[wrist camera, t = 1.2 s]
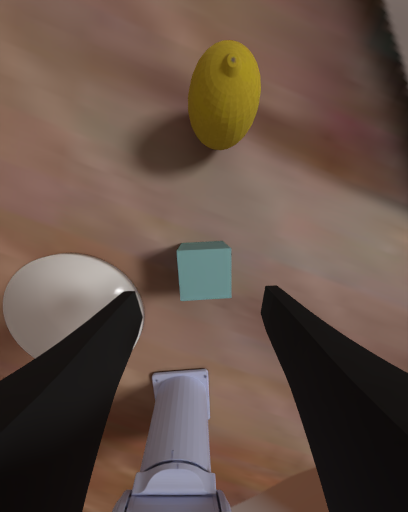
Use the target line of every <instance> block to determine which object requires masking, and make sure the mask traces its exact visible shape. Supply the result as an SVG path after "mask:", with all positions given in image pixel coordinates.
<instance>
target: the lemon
mask: <svg viewBox="0 0 408 512" xmlns="http://www.w3.org/2000/svg"><path fill="white" fill-rule="evenodd" d="M260 92H261V85H260V73H259V69H258V65H257V62H256V60H255V58H254V56H253V54H252V53H251V52H250V51H249V50H248V49H247V47H245V46H244V45H242V44H241V43H239V42H236V41H233V40H224V41H221V42H218V43H215V44H214V45H213V46H211V47H210V48H209V49H207V50H206V52H205V53H204V54H203V55H202V57H201V58H200V59H199V61H198V63H197V66H196V68H195V70H194V72H193V75H192V79H191V84H190V89H189V94H188V112H189V118H190V122H191V126H192V128H193V130H194V132H195V134H196V136H197V138H198V139H199V140H200V141H201V142H202V143H203V144H204V145H205V146H207V147H209V148H211V149H214V150H224V149H228V148H230V147H232V146H234V145H236V144H237V143H238V142H239V141H240V140H241V139H242V138H243V137H244V136H245V134H246V133H247V132H248V130H249V129H250V127H251V125H252V123H253V120H254V118H255V115H256V112H257V109H258V104H259V98H260Z"/></svg>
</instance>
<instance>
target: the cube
mask: <svg viewBox="0 0 408 512" xmlns="http://www.w3.org/2000/svg"><path fill="white" fill-rule="evenodd" d="M177 262H178V274H179V286H180V299H181V301H188V300H204V299H221V298H231V248H230V247H229V246H228V245H227V244H226V243H224V242H223V241H214V242H194V243H181V245H180V246H179V248H178V249H177Z"/></svg>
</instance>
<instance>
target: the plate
mask: <svg viewBox="0 0 408 512" xmlns="http://www.w3.org/2000/svg"><path fill="white" fill-rule="evenodd" d="M124 291H135V292H136V296H137V299H138V302H139V306H140V309H141V312H142V316H143V319H142V323H141V327H140V330H139V334H138V337H137V340H136V342H135V345H136V343H137V341H138V339H139V337H140V335H141V332H142V329H143V325H144V317H145V316H144V307H143V302H142V299H141V297H140V294H139V292H138V290H137V289H136V287H135V286H134V284H133V283H132V281H131V280H130V279H129V278H128V277H127V276H126V275H125V274H124V273H123V272H122V271H121V270H119V269H118V268H117V267H115V266H114V265H112V264H110V263H108V262H106V261H105V260H102V259H100V258H97V257H95V256H91V255H87V254H80V253H61V254H55V255H51V256H47V257H43V258H39V259H37V260H34V261H32V262H30V263H28V264H27V265H25V266H23V267H22V268H21V269H20V270H19V271H17V272H16V274H15V275H14V276H13V277H12V278H11V280H10V282H9V283H8V285H7V287H6V290H5V293H4V298H3V313H4V318H5V322H6V325H7V327H8V329H9V331H10V333H11V335H12V336H13V338H14V339H15V340H16V342H17V343H18V344H19V345H20V346H21V347H22V348H23V349H24V350H25V351H26V352H27V353H28V354H30V355H31V356H32V357H34V358H37V357H38V356H40V355H41V354H43V353H44V352H46V351H47V350H49V349H50V348H51V347H53V346H54V345H56V344H57V343H59V342H60V341H61V340H63V339H64V338H65V337H67V336H68V335H69V334H71V333H72V332H73V331H75V330H76V329H77V328H78V327H80V326H81V325H82V324H84V323H85V322H86V321H88V320H89V319H90V318H91V317H93V316H94V315H95V314H96V313H98V312H99V311H100V310H101V309H102V308H104V307H105V306H106V305H107V304H109V303H110V302H111V301H112V300H113V299H115V298H116V297H117V296H118V295H120V294H121V293H122V292H124ZM135 345H134V346H135ZM133 348H134V347H133Z"/></svg>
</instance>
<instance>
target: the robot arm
mask: <svg viewBox="0 0 408 512" xmlns="http://www.w3.org/2000/svg"><path fill="white" fill-rule="evenodd" d="M261 316H262V319H263V323H264V326H265V329H266V332H267V334H268V337H269V339H270V341H271V344H272V346H273V348H274V350H275V353H276V355H277V357H278V360H279V362H280V364H281V366H282V369H283V371H284V373H285V375H286V378H287V380H288V383H289V386H290V388H291V391H292V394H293V397H294V400H295V403H296V406H297V409H298V411H299V414H300V418H301V421H302V424H303V427H304V430H305V433H306V436H307V439H308V442H309V445H310V449H311V452H312V455H313V459H314V462H315V465H316V468H317V472H318V475H319V478H320V481H321V485H322V488H323V492H324V495H325V499H326V503H327V506H328V510H329V512H408V373H406V372H405V371H403V370H401V369H399V368H398V367H396V366H394V365H392V364H390V363H389V362H387V361H385V360H383V359H382V358H380V357H378V356H377V355H375V354H373V353H372V352H370V351H368V350H367V349H365V348H364V347H362V346H360V345H359V344H357V343H356V342H354V341H352V340H351V339H349V338H348V337H346V336H345V335H343V334H342V333H340V332H339V331H337V330H336V329H334V328H333V327H331V326H330V325H328V324H327V323H326V322H324V321H323V320H321V319H320V318H319V317H317V316H316V315H314V314H313V313H312V312H310V311H309V310H308V309H306V308H305V307H304V306H303V305H301V304H300V303H299V302H297V301H296V300H295V299H294V298H292V297H291V296H290V295H288V294H287V293H286V292H285V291H283V290H282V289H281V288H279V287H278V286H265V292H264V297H263V303H262V308H261ZM142 319H143V316H142V312H141V309H140V306H139V302H138V299H137V296H136V292H135V291H124V292H122V293H121V294H120V295H118V296H117V297H116V298H115V299H113V300H112V301H111V302H110V303H109V304H107V305H106V306H105V307H104V308H102V309H101V310H100V311H99V312H98V313H96V314H95V315H94V316H93V317H91V318H90V319H89V320H88V321H86V322H85V323H84V324H82V325H81V326H80V327H78V328H77V329H76V330H75V331H73V332H72V333H71V334H69V335H68V336H67V337H65V338H64V339H63V340H61V341H60V342H59V343H57V344H56V345H54V346H53V347H51V348H50V349H49V350H47V351H46V352H44V353H43V354H41V355H40V356H38V357H37V358H35V359H34V360H32V361H31V362H29V363H28V364H26V365H25V366H23V367H22V368H20V369H18V370H17V371H15V372H14V373H12V374H10V375H9V376H7V377H6V378H4V379H2V380H1V381H0V512H82V510H83V506H84V502H85V498H86V494H87V490H88V486H89V482H90V479H91V475H92V471H93V467H94V464H95V460H96V456H97V453H98V449H99V445H100V442H101V439H102V435H103V432H104V428H105V425H106V421H107V418H108V415H109V412H110V408H111V405H112V402H113V399H114V396H115V393H116V390H117V387H118V384H119V382H120V379H121V377H122V374H123V372H124V369H125V367H126V364H127V362H128V359H129V357H130V355H131V352H132V350H133V347H134V345H135V342H136V340H137V337H138V334H139V330H140V327H141V323H142ZM204 375H205V376H204ZM156 379H157V380H156ZM152 381H153V388H154V395H155V406H154V411H153V415H152V420H151V424H150V429H149V433H148V437H147V442H146V446H145V451H144V455H143V460H142V464H141V469H140V472H137V473H136V477H135V481H134V485H133V489H132V490H126V491H124V493H123V495H122V496H121V498H120V499H119V500H118V501H117V503H116V504H115V506H114V508H113V511H112V512H231V508H230V505H229V503H228V501H227V499H226V497H225V495H224V493H223V491H221V490H216V481H215V474H214V473H211V466H210V448H209V431H208V420H209V419H210V406H209V383H208V370H207V369H198V370H185V371H172V372H159V373H154V374H153V376H152Z"/></svg>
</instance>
